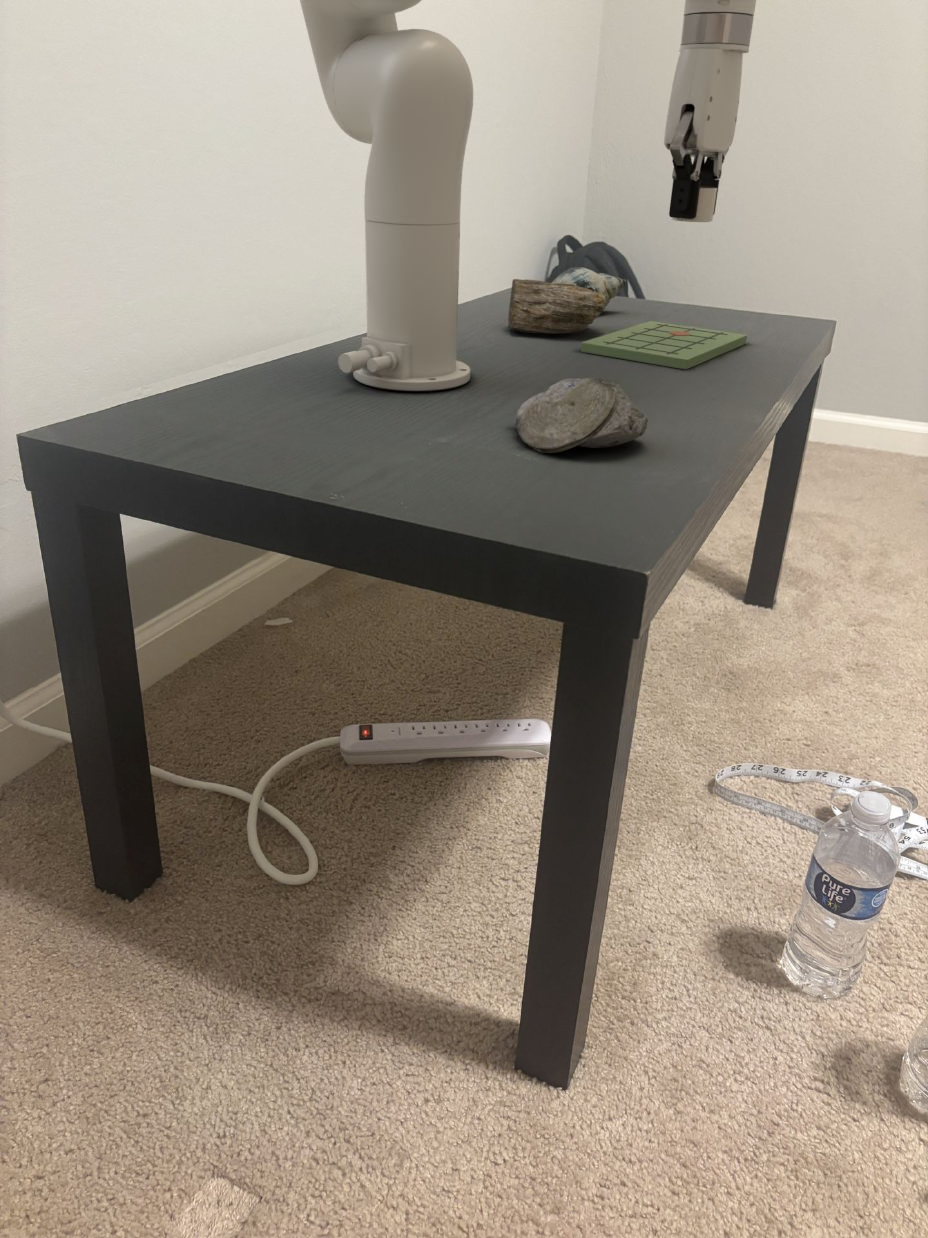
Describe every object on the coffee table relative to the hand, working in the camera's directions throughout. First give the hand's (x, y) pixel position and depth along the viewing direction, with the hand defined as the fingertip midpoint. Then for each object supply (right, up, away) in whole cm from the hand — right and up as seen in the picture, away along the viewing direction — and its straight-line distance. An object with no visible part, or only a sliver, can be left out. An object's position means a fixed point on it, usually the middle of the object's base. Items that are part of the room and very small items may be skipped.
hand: (691, 214), depth 108 cm
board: (-1, -14, +8) cm, 16 cm away
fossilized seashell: (-17, -33, -29) cm, 47 cm away
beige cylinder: (0, -1, 0) cm, 1 cm away
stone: (-15, -9, +15) cm, 23 cm away
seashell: (-10, -2, +29) cm, 31 cm away
